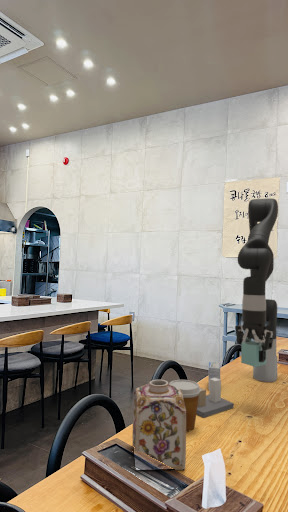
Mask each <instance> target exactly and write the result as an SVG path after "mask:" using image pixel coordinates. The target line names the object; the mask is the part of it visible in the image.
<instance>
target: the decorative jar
mask: <svg viewBox="0 0 288 512" xmlns="http://www.w3.org/2000/svg"><path fill="white" fill-rule="evenodd" d="M183 399H184V398H183V394H182V391H181V390H180V389H179V388H176V387H174V386H171V385H169V382H168V380H165V379H153V380H151V381H149V383H147V384H143V385H140V386H139V387H136V388H135V390H134V392H133V409H132V411H133V412H132V447H133V446H134V447H135V451H137V452H138V451H139V452H140V451H141V452H143V453H145V454H147V455H149V456H150V457H152V458H154V459H156V460H158V461H160V462H162V463H164V464H165V465H167V466H169V467H171V468H173V469H175V470H174V471H184V470H185V469H186V464H187V462H186V458H187V454H186V453H187V431H186V407H185V402H184V400H183ZM183 469H184V470H183Z"/></svg>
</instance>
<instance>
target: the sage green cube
mask: <svg viewBox="0 0 288 512" xmlns="http://www.w3.org/2000/svg"><path fill="white" fill-rule="evenodd" d="M240 345H241V347H240V348H241V353H240V355H241V356H240V357H241V361H240V362H241V364H244V365H248V366H251V367H253V366H254V367H258V366H262V365H266V360H265V361H264V362H259V351H260V350H259V346H258V344H256V342H255V341H253V340H251V341H250V342H243V343H241V344H240ZM262 347H263V345H262Z"/></svg>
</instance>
